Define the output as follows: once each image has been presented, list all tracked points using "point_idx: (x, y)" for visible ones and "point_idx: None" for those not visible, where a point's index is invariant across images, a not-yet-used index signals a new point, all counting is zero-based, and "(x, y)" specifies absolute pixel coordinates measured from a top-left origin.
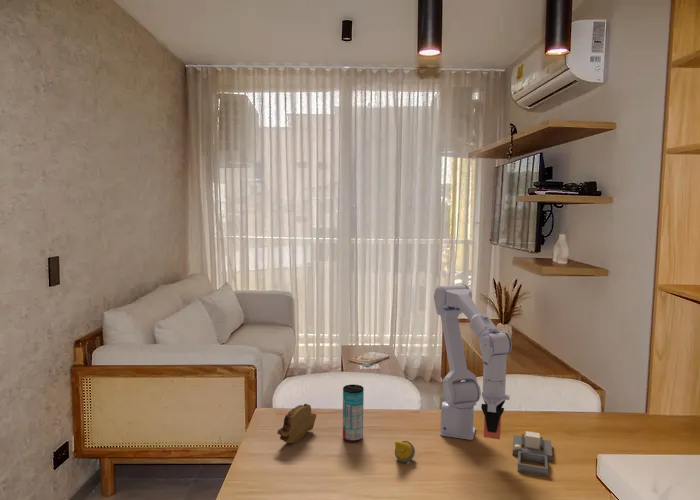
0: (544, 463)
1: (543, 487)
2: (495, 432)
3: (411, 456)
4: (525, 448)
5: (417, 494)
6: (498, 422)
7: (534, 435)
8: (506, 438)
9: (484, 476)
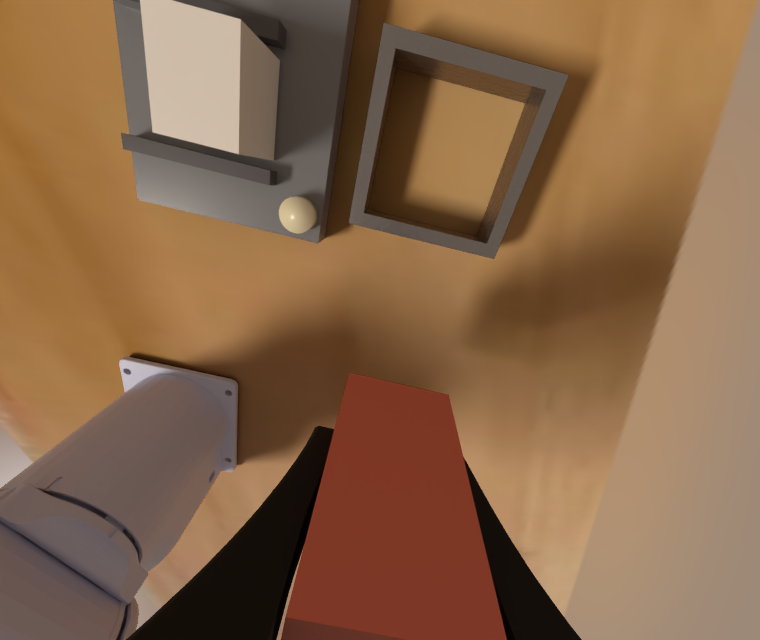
0: (424, 69)
1: (643, 150)
2: (466, 462)
3: None
4: (288, 163)
5: (588, 538)
6: (518, 552)
7: (208, 66)
8: (154, 232)
9: (513, 382)
